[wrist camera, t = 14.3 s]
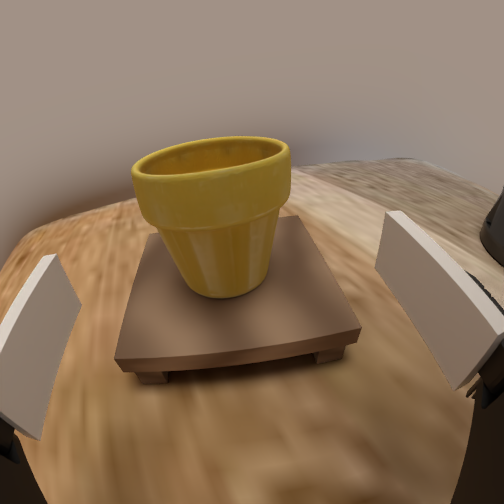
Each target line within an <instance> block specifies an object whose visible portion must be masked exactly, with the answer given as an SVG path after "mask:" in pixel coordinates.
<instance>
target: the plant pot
mask: <svg viewBox="0 0 504 504" xmlns="http://www.w3.org/2000/svg"><path fill="white" fill-rule="evenodd" d="M131 175H132V180H133V185H134V189H135V193H136V197H137V201H138V204H139V207H140V210H141V213H142V216H143V218H144V219H145V220H146V221H147V222H148V223H149V224H151V225H153V226H155V227H156V228H157V230H158V232H159V234H160V236H161V238H162V240H163V242H164V243H165V245H166V247H167V249H168V251H169V253H170V255H171V256H172V258H173V260H174V262H175V264H176V265H177V267H178V269H179V271H180V273H181V275H182V277H183V278H184V280H185V282H186V283H187V285H188V286H189V287H190V288H191V289H192V290H193V291H195V292H196V293H198V294H200V295H203V296H206V297H210V298H231V297H236V296H240V295H243V294H245V293H248V292H250V291H252V290H253V289H255V288H256V287H257V286H259V285H260V284H261V283H262V281H263V280H264V279H265V277H266V274H267V271H268V266H269V261H270V256H271V250H272V245H273V240H274V235H275V230H276V225H277V220H278V215H279V210H280V208H281V207H282V206H283V205H284V204H285V203H286V201H287V200H288V198H289V195H290V188H291V156H290V149H289V147H288V145H287V144H286V143H284V142H282V141H279V140H276V139H271V138H265V137H251V136H233V137H219V138H211V139H204V140H197V141H192V142H187V143H183V144H179V145H175V146H171V147H168V148H165V149H162V150H159V151H157V152H154V153H152V154H150V155H147V156H145V157H144V158H142V159H141V160H139V161H137V163H135V164H134V166H133V167H132V169H131Z"/></svg>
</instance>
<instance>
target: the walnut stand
mask: <svg viewBox="0 0 504 504" xmlns="http://www.w3.org/2000/svg"><path fill="white" fill-rule="evenodd" d="M361 328H362V327H361V325H360V323H359V321H358V320H357V318H356V316H355V314H354V312H353V310H352V308H351V306H350V305H349V303H348V301H347V299H346V297H345V295H344V294H343V292H342V290H341V288H340V286H339V285H338V283H337V281H336V279H335V277H334V276H333V274H332V272H331V270H330V269H329V267H328V265H327V263H326V262H325V260H324V258H323V256H322V255H321V253H320V251H319V250H318V248H317V246H316V245H315V243H314V241H313V239H312V238H311V236H310V234H309V233H308V231H307V229H306V228H305V226H304V225H303V223H302V221H301V220H300V218H299V216H288V217H279V218H278V220H277V225H276V230H275V235H274V240H273V245H272V250H271V256H270V261H269V266H268V271H267V274H266V277H265V279H264V280H263V281H262V283H261V284H260V285H259V286H257V287H256V288H255V289H253V290H252V291H250V292H248V293H245V294H243V295H240V296H236V297H231V298H210V297H206V296H203V295H200V294H198V293H196V292H195V291H193V290H192V289H191V288H190V287H189V286H188V285H187V283H186V282H185V280H184V278H183V277H182V275H181V273H180V271H179V269H178V267H177V265H176V264H175V262H174V260H173V258H172V256H171V255H170V253H169V251H168V249H167V247H166V245H165V243H164V242H163V240H162V238H161V236H160V234H159V233H153V234H149V237H148V240H147V243H146V246H145V249H144V252H143V255H142V258H141V261H140V264H139V267H138V270H137V273H136V277H135V280H134V283H133V287H132V290H131V293H130V297H129V300H128V304H127V308H126V311H125V315H124V319H123V323H122V327H121V331H120V335H119V339H118V343H117V348H116V352H115V357H114V360H115V361H116V363H117V364H118V365H119V367H120V368H121V370H122V371H123V372H135V373H136V375H137V376H138V378H139V379H140V381H141V382H142V383H143V384H155V383H168V371H178V370H192V369H204V368H215V367H224V366H233V365H241V364H249V363H256V362H262V361H269V360H275V359H281V358H287V357H293V356H298V355H303V354H308V353H313V355H314V357H315V360H316V363H317V364H319V363H324V362H328V361H332V360H337V359H341V358H342V356H343V353H344V350H345V346H346V345H349V344H353V343H357V340H358V337H359V334H360V331H361Z"/></svg>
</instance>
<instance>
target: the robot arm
mask: <svg viewBox="0 0 504 504" xmlns="http://www.w3.org/2000/svg"><path fill="white" fill-rule="evenodd" d="M480 238H481V241H482V243H483V245H484V246H485V248H486V249H487V250H488V252H489V253H490V254H491V255H492V256H493V257H494V258H495V259H496V260H497V261H498V262H500V263H501V264H502V265H503V266H504V187H503V191H502V193H501V195H500V196H499V198H498V200H497V201H496V203H495V204H494V206H493V208H492V209H491V211H490V212H489V214H488V215H487V217H486V218H485V220H484V223H483V226H482V229H481V232H480ZM375 269H376V271H377V272H378V273H379V275H380V276H381V277H382V279H383V280H384V282H385V283H386V284H387V286H388V287H389V289H390V290H391V291H392V293H393V294H394V296H395V297H396V299H397V300H398V302H399V303H400V304H401V306H402V307H403V309H404V310H405V312H406V313H407V315H408V316H409V318H410V319H411V321H412V322H413V324H414V326H415V327H416V329H417V330H418V332H419V333H420V335H421V337H422V338H423V340H424V341H425V343H426V345H427V346H428V348H429V349H430V351H431V353H432V354H433V356H434V358H435V359H436V361H437V363H438V365H439V366H440V368H441V370H442V372H443V373H444V375H445V377H446V379H447V380H448V382H449V384H450V386H451V388H452V389H453V391H455V390H457V389H459V388H461V387H462V386H464V385H466V384H468V383H469V382H470V381H471V380H472V378H473V377H474V376H475V375H476V374H477V373H479V375H480V376H481V377H480V378H479V379H478V380H477V381H476V383H475V384H474V385H473V386H472V387H471V388H470V389H469V390H468V392H467V394H466V397H467V398H468V397H469V396H470V395H471V394H472V393H473V392H474V391H475V390H476V393H475V394H474V395H473V396H472V399H475V404H474V412H473V419H472V425H471V430H470V436H469V440H468V445H467V450H466V454H465V458H464V462H463V466H462V469H461V473H460V476H459V480H458V483H457V486H456V489H455V492H454V495H453V498H452V500H451V503H450V504H504V310H503V308H502V307H501V306H500V305H499V304H498V302H497V301H496V300H495V299H494V298H493V297H491V294H490V293H489V292H488V291H487V290H486V289H484V286H483V285H482V284H481V283H480V282H479V281H478V280H477V278H476V277H474V276H473V275H471V274H470V273H468V272H467V271H465V270H463V269H462V268H461V267H460V266H459V264H458V263H457V262H456V261H455V260H454V259H453V258H452V257H451V256H450V255H449V254H448V253H447V252H446V251H445V250H444V249H443V248H441V247H440V246H439V245H438V244H437V243H436V242H435V241H434V240H433V239H432V238H431V237H430V236H429V235H428V234H427V233H426V232H424V231H423V230H422V229H421V228H420V227H419V226H418V225H417V224H416V223H414V222H413V221H412V220H411V219H410V218H409V217H408V216H406V215H405V214H404V213H403V212H402V211H389V212H386V213H385V219H384V224H383V230H382V235H381V240H380V245H379V250H378V255H377V259H376V264H375ZM81 306H82V304H81V302H80V300H79V299H78V297H77V295H76V293H75V291H74V289H73V287H72V285H71V283H70V281H69V279H68V277H67V275H66V273H65V271H64V269H63V267H62V265H61V262H60V260H59V258H58V256H57V254H52V255H47V256H43V258H42V259H41V260H40V262H39V263H38V265H37V266H36V267H35V269H34V270H33V272H32V273H31V275H30V276H29V278H28V279H27V281H26V282H25V284H24V286H23V287H22V289H21V290H20V292H19V294H18V295H17V297H16V298H15V300H14V302H13V304H12V305H11V307H10V309H9V310H8V312H7V314H6V316H5V318H4V319H3V321H2V323H1V325H0V504H48V503H47V501H46V500H45V498H44V496H43V494H42V492H41V490H40V488H39V486H38V484H37V482H36V480H35V477H34V475H33V473H32V471H31V468H30V466H29V464H28V461H27V459H26V456H25V454H24V451H23V448H22V446H21V443H20V440H19V438H18V437H17V436H16V435H15V434H14V429H16V430H17V431H19V432H20V433H22V434H23V435H25V436H26V437H29V438H33V439H36V440H39V441H40V440H41V435H42V430H43V425H44V420H45V416H46V412H47V408H48V404H49V400H50V396H51V392H52V389H53V385H54V382H55V378H56V375H57V372H58V368H59V365H60V362H61V359H62V356H63V353H64V350H65V347H66V345H67V342H68V339H69V336H70V334H71V331H72V328H73V326H74V323H75V321H76V318H77V316H78V313H79V311H80V308H81Z"/></svg>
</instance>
